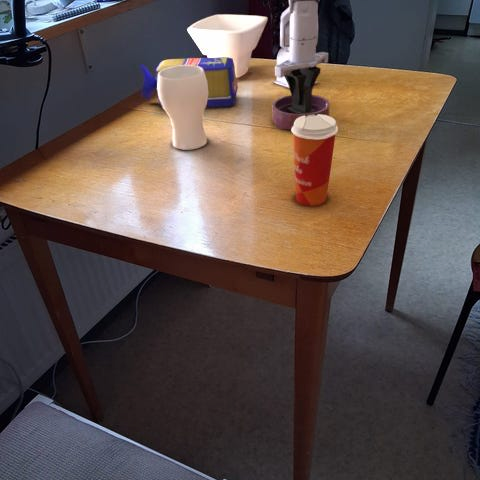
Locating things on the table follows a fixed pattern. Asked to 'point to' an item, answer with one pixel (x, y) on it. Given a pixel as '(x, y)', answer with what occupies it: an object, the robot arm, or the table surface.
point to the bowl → (229, 37)
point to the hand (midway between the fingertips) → (300, 102)
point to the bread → (216, 73)
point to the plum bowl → (288, 119)
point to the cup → (184, 103)
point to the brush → (303, 103)
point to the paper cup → (313, 157)
